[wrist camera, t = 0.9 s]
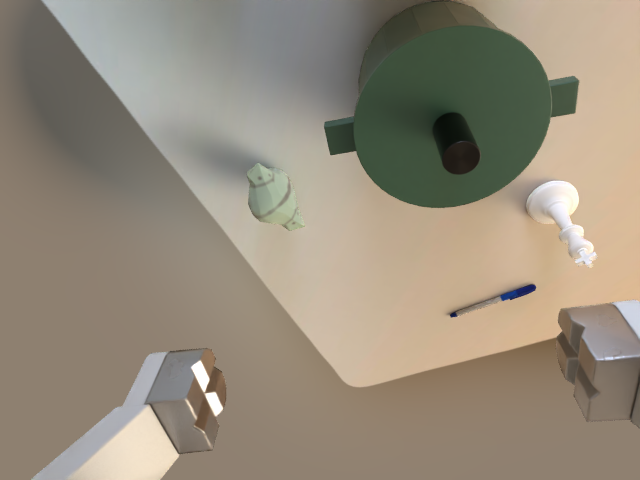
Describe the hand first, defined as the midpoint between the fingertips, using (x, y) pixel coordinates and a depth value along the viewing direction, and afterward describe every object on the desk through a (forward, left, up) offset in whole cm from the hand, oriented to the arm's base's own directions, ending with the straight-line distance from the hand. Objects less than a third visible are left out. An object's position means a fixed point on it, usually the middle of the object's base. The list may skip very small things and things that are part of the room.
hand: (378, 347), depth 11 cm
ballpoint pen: (+35, +10, -35) cm, 51 cm away
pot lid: (+7, +5, -25) cm, 26 cm away
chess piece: (+22, +16, -35) cm, 44 cm away
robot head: (+14, -11, -35) cm, 39 cm away
